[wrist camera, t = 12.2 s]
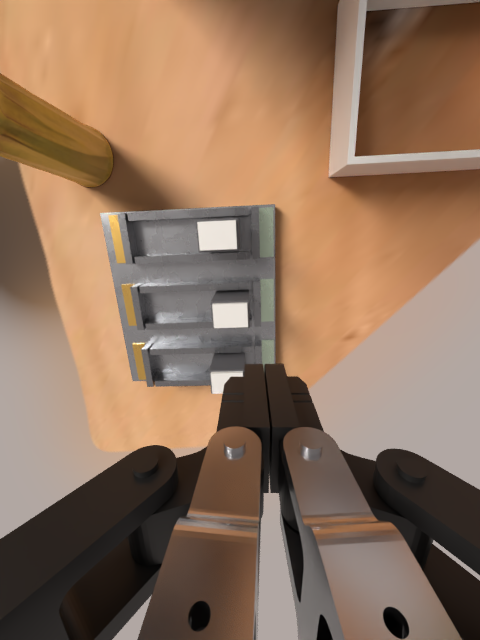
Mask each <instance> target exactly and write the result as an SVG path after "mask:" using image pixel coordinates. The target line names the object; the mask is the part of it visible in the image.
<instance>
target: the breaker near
mask: <svg viewBox="0 0 480 640" xmlns="http://www.w3.org/2000/svg"><path fill="white" fill-rule="evenodd" d="M196 229H197V240H198V251H199V253H200V252H223V251H239V250H240V248H241V238H240V220H239V219H238V218H225V219H204V220H196Z"/></svg>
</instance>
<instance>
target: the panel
mask: <svg viewBox="0 0 480 640" xmlns="http://www.w3.org/2000/svg"><path fill="white" fill-rule="evenodd" d="M100 215H101V220H102V225H103V231H104V236H105V241H106V246H107V251H108V256H109V261H110V267H111V272H112V277H113V282H114V287H115V292H116V297H117V303H118V308H119V313H120V318H121V323H122V328H123V333H124V339H125V344H126V349H127V354H128V359H129V364H130V369H131V375H132V380H133V381H147V387H153V386H154V385H156V386H203V385H210V373H209V369H210V366H211V362H212V359H213V355H214V353H245V359H246V364H263V367H264V364H275V204H272V205H252V206H232V207H212V208H192V209H173V210H153V211H133V212H113V213H100ZM225 218H238V219H239V220H240V238H241V248H240V250H239V251H223V252H200V253H199V251H198V240H197V229H196V220H204V219H225ZM248 289H249V304H250V328H223V329H213V326H212V313H211V300H212V298H213V296H214V295H215V293H216V291H220V290H248Z"/></svg>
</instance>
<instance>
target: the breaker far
mask: <svg viewBox="0 0 480 640" xmlns="http://www.w3.org/2000/svg"><path fill="white" fill-rule="evenodd" d="M245 364H246V359H245V353H214V355H213V359H212V362H211V366H210V369H209V373H210V385H211V393H212V394H219V393H223V389H224V384H225V383H226V382H227V380H228V379H229V378H230V377H244V368H245Z"/></svg>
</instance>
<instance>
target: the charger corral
mask: <svg viewBox="0 0 480 640" xmlns="http://www.w3.org/2000/svg"><path fill="white" fill-rule="evenodd" d="M474 2H480V0H340V1H339V4H338V12H337V31H336V49H335V67H334V86H333V104H332V122H331V141H330V159H329V177H345V176H363V175H382V174H400V173H419V172H437V171H456V170H474V169H480V149H478V150H461V151H444V152H426V153H409V154H391V155H374V156H356V157H355V145H356V132H357V120H358V107H359V95H360V82H361V70H362V58H363V45H364V33H365V20H366V11H375V10H387V9H399V8H412V7H424V6H436V5H449V4H461V3H474Z"/></svg>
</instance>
